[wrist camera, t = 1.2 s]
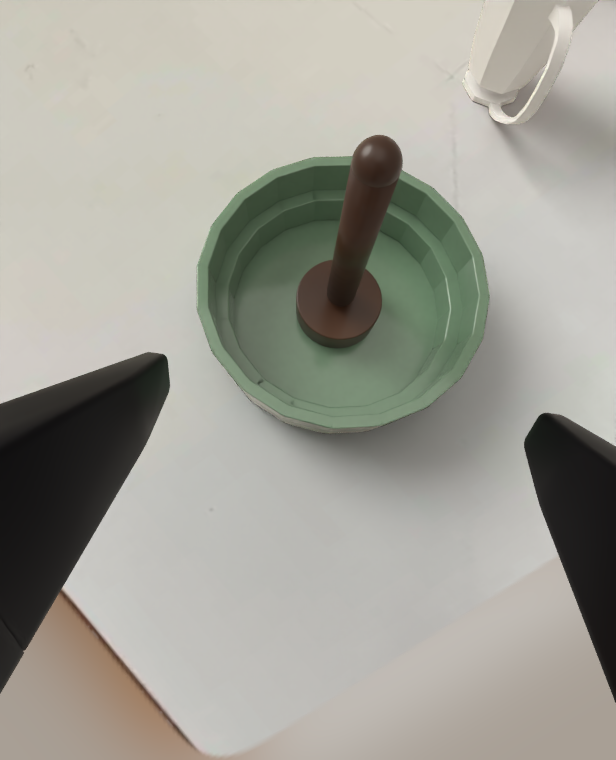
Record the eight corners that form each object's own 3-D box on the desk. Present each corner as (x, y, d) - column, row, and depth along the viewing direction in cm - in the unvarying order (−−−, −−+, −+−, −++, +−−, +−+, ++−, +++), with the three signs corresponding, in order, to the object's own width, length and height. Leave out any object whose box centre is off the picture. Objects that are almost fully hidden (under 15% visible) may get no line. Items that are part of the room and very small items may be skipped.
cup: (530, 49, 29) (620, -107, 21) (547, 159, 26) (653, 32, 19) (441, 45, 28) (498, -114, 20) (451, 156, 26) (517, 26, 18)
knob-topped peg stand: (388, 332, 23) (495, 188, 11) (313, 360, 22) (336, 242, 10) (357, 263, 24) (422, 58, 11) (284, 288, 23) (272, 100, 11)
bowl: (493, 380, 23) (540, 362, 18) (264, 472, 21) (255, 476, 17) (394, 182, 26) (414, 125, 21) (184, 250, 24) (159, 203, 20)
